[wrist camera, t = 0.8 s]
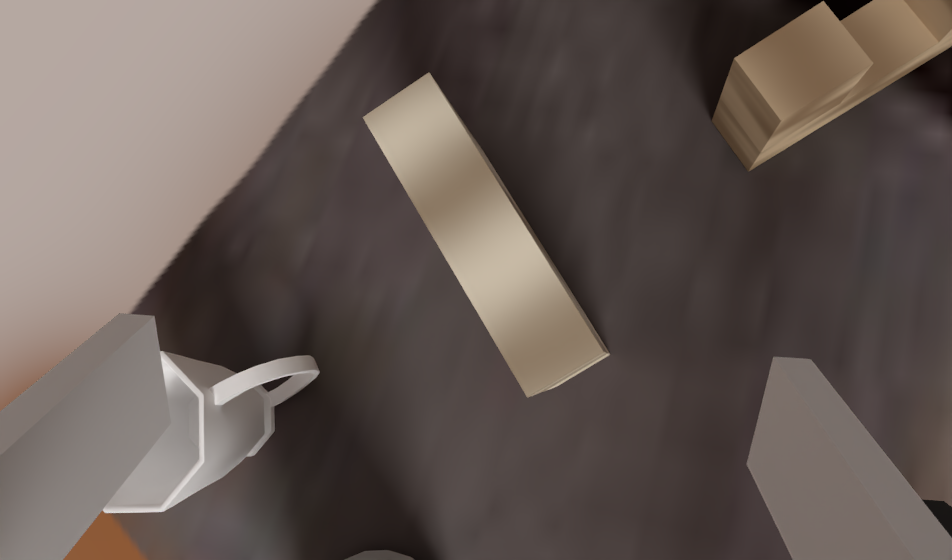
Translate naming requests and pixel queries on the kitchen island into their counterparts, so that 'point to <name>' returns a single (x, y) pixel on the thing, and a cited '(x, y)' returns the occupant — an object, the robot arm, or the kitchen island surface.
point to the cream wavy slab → (485, 238)
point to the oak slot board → (823, 71)
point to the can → (379, 556)
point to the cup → (208, 427)
